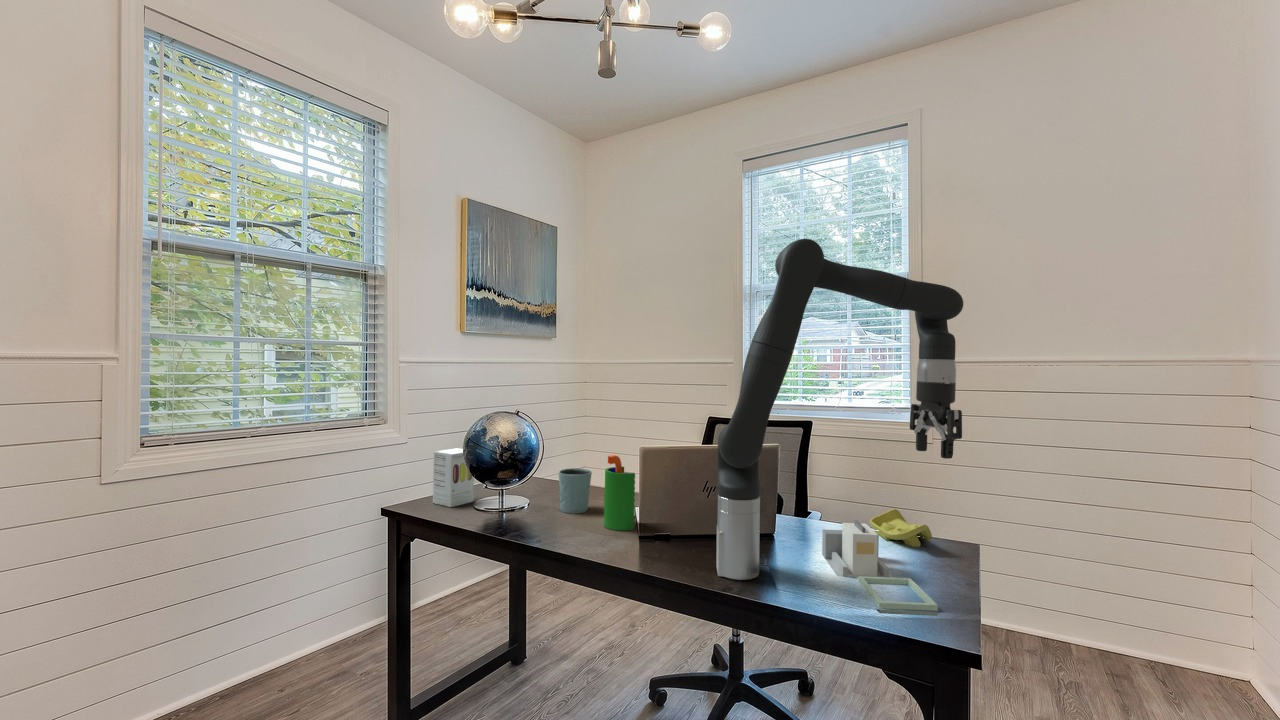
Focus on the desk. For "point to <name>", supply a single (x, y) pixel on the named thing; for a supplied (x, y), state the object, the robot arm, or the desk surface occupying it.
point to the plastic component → (899, 528)
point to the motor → (619, 497)
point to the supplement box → (451, 479)
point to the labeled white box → (859, 549)
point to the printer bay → (846, 572)
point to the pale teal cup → (574, 490)
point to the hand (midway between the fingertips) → (933, 454)
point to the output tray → (927, 605)
